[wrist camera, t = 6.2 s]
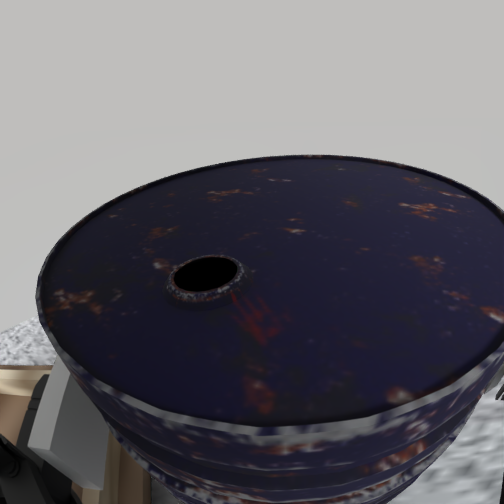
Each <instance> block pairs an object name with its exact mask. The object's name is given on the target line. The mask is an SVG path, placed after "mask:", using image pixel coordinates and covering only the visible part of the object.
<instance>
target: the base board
mask: <svg viewBox="0 0 504 504" xmlns="http://www.w3.org/2000/svg"><path fill="white" fill-rule="evenodd" d="M52 368H53V365H46V366H14V365H0V434H2V435H3V436H4V437H5V438H7V439H8V440H9V441H10V442H11V443H12V444H13V445H14V446H16V443H17V439H18V435H19V432H20V429H21V425H22V422H23V419H24V416H25V413H26V410H28V408H27V407H28V404H29V401H30V400H31V395H32V393H33V390H34V387H35V385H36V384H37V382H38V381H39V380H40V378H41V377H42V376H43V375H44V374H50V373H51V370H52ZM72 489H73V490H74V491H75V492H76V494H77V495H78V497H79V498H80V500H81V502H82V503H83V504H151V475H150V474H149V473H148V472H147V471H145V470H144V469H143V468H142V467H141V466H140V465H139V464H138V463H137V462H136V461H135V460H134V459H133V458H132V457H131V456H130V455H129V453H128V452H127V451H126V450H125V449H124V448H123V447H122V446H121V444H120V443H119V442H118V441H117V440H116V439H115V437H114V436H113V435H112V433H111V431H110V429H109V436H108V444H107V453H106V462H105V473H104V486H103V490H96V489H88V488H82V487H81V486H79V485H78V484H76V483H75V482H73V481H72Z"/></svg>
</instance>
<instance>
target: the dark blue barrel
mask: <svg viewBox="0 0 504 504" xmlns="http://www.w3.org/2000/svg"><path fill="white" fill-rule="evenodd" d="M35 298H36V304H37V310H38V316H39V321H40V323H41V325H42V327H43V329H44V331H45V333H46V335H47V336H48V338H49V340H50V342H51V343H52V345H53V347H54V349H55V350H56V352H57V354H58V355H59V357H60V358H61V360H62V361H63V363H64V364H65V366H66V367H67V369H68V370H69V372H70V373H71V375H72V376H73V378H74V379H75V380H76V382H77V383H78V385H79V386H80V387H81V389H82V390H83V391H84V393H85V394H86V395H87V396H88V397H89V398H90V400H91V401H92V402H93V404H94V405H95V406H96V408H97V409H98V410H99V411H100V413H101V414H102V416H103V418H104V420H105V422H106V424H107V426H108V427H109V429H110V431H111V433H112V435H113V436H114V437H115V439H116V440H117V441H118V442H119V443H120V444H121V446H122V447H123V448H124V449H125V450H126V451H127V452H128V453H129V455H130V456H131V457H132V458H133V459H134V460H135V461H136V462H137V463H138V464H139V465H140V466H141V467H142V468H143V469H144V470H145V471H147V472H148V473H149V474H150V475H151V476H152V477H154V478H155V479H156V480H157V481H158V482H159V483H160V484H161V485H163V486H164V487H165V488H166V489H167V490H168V491H169V492H170V493H171V494H172V495H173V496H175V497H176V498H177V499H179V500H180V501H182V502H184V503H185V504H386V503H388V502H389V501H391V500H392V499H393V498H395V497H396V496H397V495H398V494H400V493H401V492H402V491H403V490H405V489H406V488H407V487H408V486H410V485H411V484H412V483H413V482H414V481H415V480H416V479H417V478H418V477H419V476H420V475H421V473H422V472H424V471H425V470H426V469H427V468H428V467H429V466H430V465H431V464H432V463H433V462H434V461H435V460H436V459H437V458H438V457H439V456H440V455H441V454H442V453H443V452H444V451H445V450H446V449H447V448H448V447H449V446H450V445H451V444H452V442H453V441H454V440H455V439H456V437H457V436H458V434H459V433H460V431H461V430H462V428H463V427H464V425H465V424H466V422H467V421H468V419H469V417H470V416H471V414H472V413H473V411H474V409H475V406H476V404H477V403H478V401H479V400H480V398H481V396H482V395H483V393H484V391H485V389H486V387H487V386H488V384H489V382H490V380H491V379H492V377H493V376H494V375H495V374H496V372H497V371H498V370H499V368H500V367H501V365H502V364H503V362H504V211H503V210H502V209H501V208H500V207H498V206H497V205H496V204H495V203H493V202H492V201H491V200H489V199H488V198H486V197H485V196H483V195H482V194H480V193H478V192H477V191H475V190H473V189H472V188H470V187H468V186H466V185H463V184H461V183H459V182H457V181H455V180H453V179H450V178H447V177H445V176H442V175H439V174H437V173H434V172H431V171H427V170H424V169H420V168H417V167H413V166H409V165H404V164H400V163H395V162H390V161H383V160H378V159H370V158H362V157H353V156H338V155H286V156H285V155H284V156H270V157H260V158H252V159H243V160H237V161H231V162H225V163H219V164H215V165H210V166H205V167H200V168H196V169H193V170H189V171H185V172H181V173H178V174H175V175H171V176H168V177H165V178H162V179H159V180H156V181H154V182H151V183H148V184H146V185H143V186H140V187H138V188H136V189H134V190H131V191H129V192H127V193H125V194H122V195H120V196H118V197H116V198H115V199H113V200H111V201H109V202H107V203H105V204H103V205H102V206H100V207H99V208H97V209H96V210H94V211H92V212H91V213H89V214H88V215H87V216H85V217H84V218H83V219H82V220H80V221H79V222H77V223H76V224H75V225H74V226H73V227H71V228H70V229H69V230H68V231H67V232H66V234H64V235H63V236H62V237H61V238H60V239H59V241H58V242H57V243H56V244H55V246H54V247H53V249H52V250H51V251H50V253H49V255H48V256H47V257H46V259H45V262H44V264H43V266H42V269H41V271H40V274H39V276H38V281H37V288H36V296H35Z"/></svg>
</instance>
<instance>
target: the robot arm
mask: <svg viewBox="0 0 504 504" xmlns="http://www.w3.org/2000/svg"><path fill="white" fill-rule="evenodd" d="M503 375H504V362H503V364H502V365H501V367H500V368H499V370H498V371H497V372H496V374H495V375H494V376H493V377H492V379H491V380H490V382H489V384H488V386H487V387H486V389H485V391H484V394H485V393H487V392H488V391H490V390H491V389H492V388H494V387H495V386H497V384H498V383H499V381H500V380H501V378H502V377H503ZM503 392H504V384H503V386H502V387H501V388H500V390H499V391H498V393H497V394H496V399H495V400H498V399H499V397H500V396H501V395H502V393H503ZM501 400H504V395H503V396H502V398H501ZM27 408H28V410H26V413H25V416H24V419H23V422H22V425H21V429H20V432H19V435H18V439H17V443H16V446H14V445H13V444H12V443H11V442H10V441H9V440H8V439H7V438H5V437H4V436H3V435H2V434H0V504H83V503H82V502H81V500H80V498H79V497H78V495H77V494H76V492H75V491H74V490H73V489H72V481H73V482H75V483H76V484H78V485H79V486H81V487H82V488H88V489H96V490H103V486H104V473H105V462H106V453H107V444H108V436H109V427H108V426H107V424H106V422H105V420H104V418H103V416H102V414H101V413H100V411H99V410H98V409H97V408H96V406H95V405H94V404H93V402H92V401H91V400H90V398H89V397H88V396H87V395H86V394H85V393H84V391H83V390H82V389H81V387H80V386H79V385H78V383H77V382H76V380H75V379H74V378H73V376H72V375H71V373H70V372H69V370H68V369H67V367H66V366H65V364H64V363H63V361H62V360H61V358H60V357H59V355H57V357H56V360H55V362H54V365H53V368H52V370H51V373H50V374H44V375H43V376H42V377H41V378H40V380H39V381H38V382H37V384H36V385H35V387H34V390H33V393H32V395H31V400H30V401H29V404H28V407H27ZM499 504H504V474H503V483H502V491H501V497H500V503H499Z"/></svg>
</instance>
